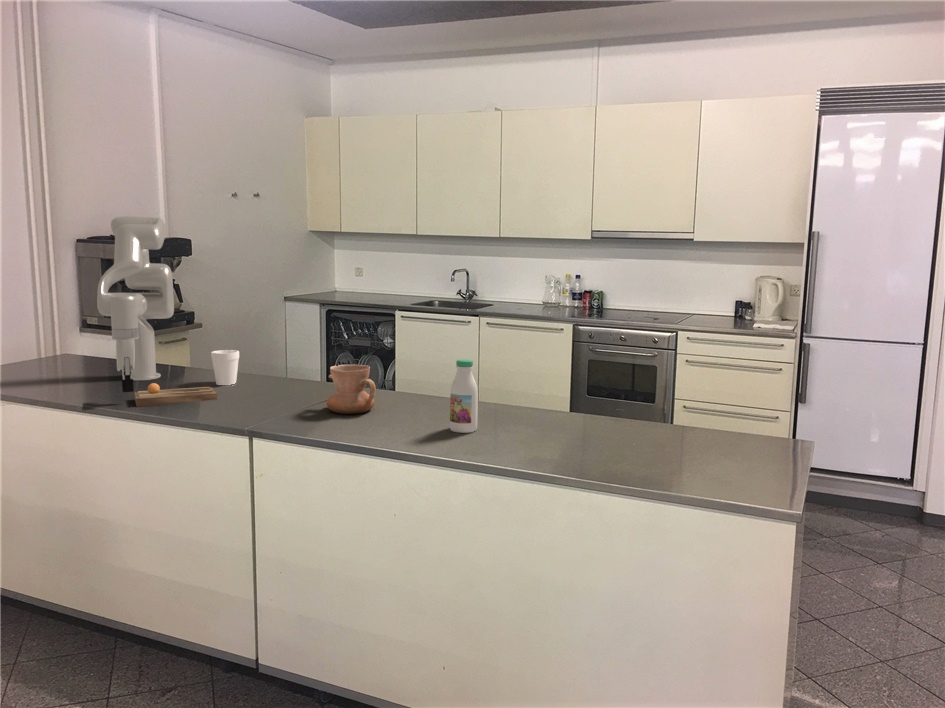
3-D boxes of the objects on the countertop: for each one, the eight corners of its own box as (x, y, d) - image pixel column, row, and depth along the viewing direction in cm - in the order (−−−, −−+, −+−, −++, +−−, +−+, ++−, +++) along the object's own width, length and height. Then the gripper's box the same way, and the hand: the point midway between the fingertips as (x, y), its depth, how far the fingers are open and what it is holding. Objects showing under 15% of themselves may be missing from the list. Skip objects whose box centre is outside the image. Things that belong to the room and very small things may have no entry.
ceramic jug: (313, 412, 223) (313, 367, 222) (347, 405, 235) (346, 361, 233) (356, 421, 213) (356, 373, 211) (389, 412, 225) (389, 367, 223)
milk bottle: (461, 425, 210) (463, 357, 207) (482, 430, 205) (484, 360, 202) (444, 430, 204) (445, 360, 201) (465, 435, 199) (466, 363, 196)
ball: (147, 393, 235) (147, 382, 235) (159, 392, 237) (159, 381, 236) (148, 395, 232) (147, 384, 231) (160, 394, 234) (159, 383, 233)
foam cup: (206, 388, 259) (205, 352, 257) (226, 384, 267) (225, 349, 265) (226, 391, 255) (225, 354, 253) (245, 386, 263) (244, 351, 261)
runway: (134, 399, 238) (134, 390, 237) (212, 394, 248) (211, 385, 248) (136, 406, 227) (136, 397, 227) (217, 400, 238) (216, 391, 237)
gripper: (111, 332, 233) (114, 388, 236) (112, 337, 220) (115, 396, 222) (137, 331, 237) (139, 386, 239) (139, 336, 223) (142, 394, 226)
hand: (128, 391), depth 231 cm, fingers closed
